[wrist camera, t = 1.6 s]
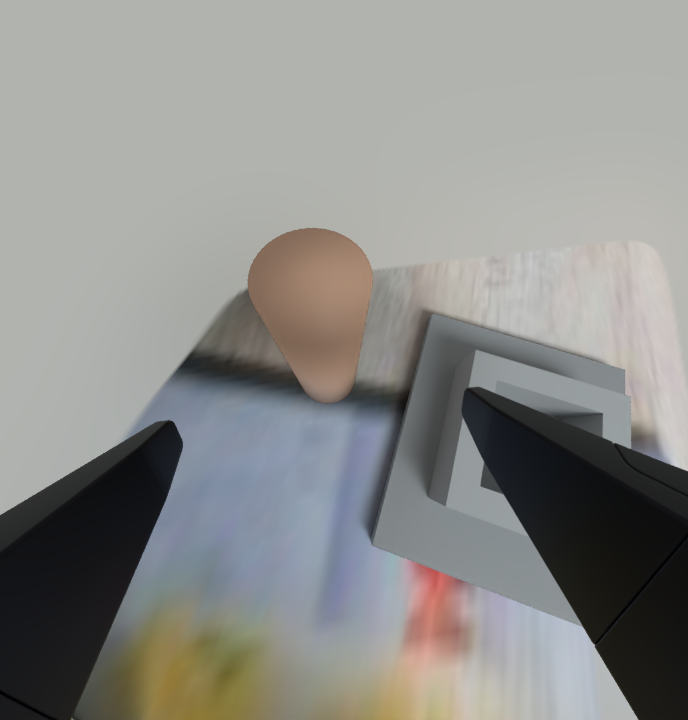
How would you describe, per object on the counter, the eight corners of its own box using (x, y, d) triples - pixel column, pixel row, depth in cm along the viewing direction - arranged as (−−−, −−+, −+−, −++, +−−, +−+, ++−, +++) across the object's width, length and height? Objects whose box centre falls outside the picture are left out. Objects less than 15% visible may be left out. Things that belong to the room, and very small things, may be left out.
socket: (606, 631, 15) (693, 689, 12) (370, 540, 17) (379, 566, 13) (611, 373, 20) (673, 355, 17) (428, 319, 22) (447, 291, 18)
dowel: (345, 410, 19) (350, 351, 8) (292, 393, 20) (226, 311, 8) (361, 360, 21) (387, 245, 9) (312, 344, 21) (277, 216, 10)
